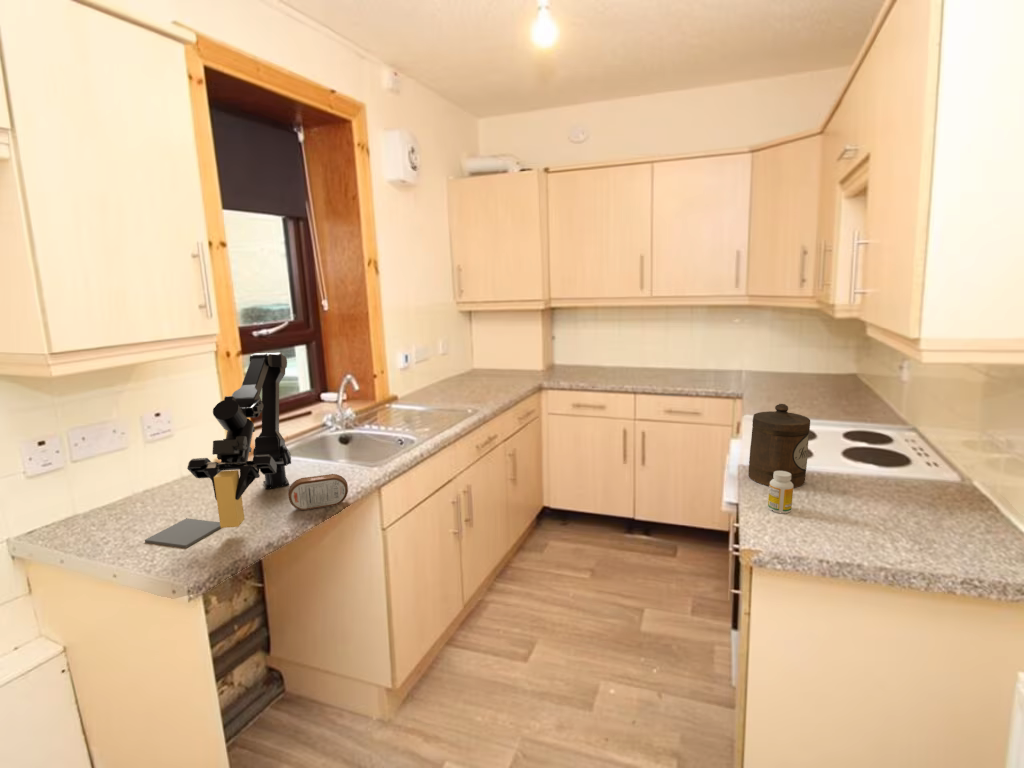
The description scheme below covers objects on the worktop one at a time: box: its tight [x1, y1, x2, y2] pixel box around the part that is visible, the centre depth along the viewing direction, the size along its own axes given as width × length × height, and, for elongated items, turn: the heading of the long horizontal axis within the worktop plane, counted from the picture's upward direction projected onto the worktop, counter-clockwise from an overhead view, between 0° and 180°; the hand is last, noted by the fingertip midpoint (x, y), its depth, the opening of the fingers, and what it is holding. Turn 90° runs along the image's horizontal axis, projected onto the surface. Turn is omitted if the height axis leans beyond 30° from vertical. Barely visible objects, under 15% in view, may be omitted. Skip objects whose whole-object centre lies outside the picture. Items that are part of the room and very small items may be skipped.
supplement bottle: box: [767, 471, 794, 514], centre depth 140 cm, size 5×5×10 cm
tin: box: [287, 473, 349, 511], centre depth 149 cm, size 15×3×8 cm, turn 111°
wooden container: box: [748, 403, 811, 488], centre depth 159 cm, size 15×15×22 cm
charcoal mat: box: [144, 517, 222, 549], centre depth 136 cm, size 12×12×1 cm
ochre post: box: [214, 470, 245, 529], centre depth 132 cm, size 4×4×12 cm
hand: (227, 499), depth 131 cm, fingers closed on ochre post, 4 cm apart
